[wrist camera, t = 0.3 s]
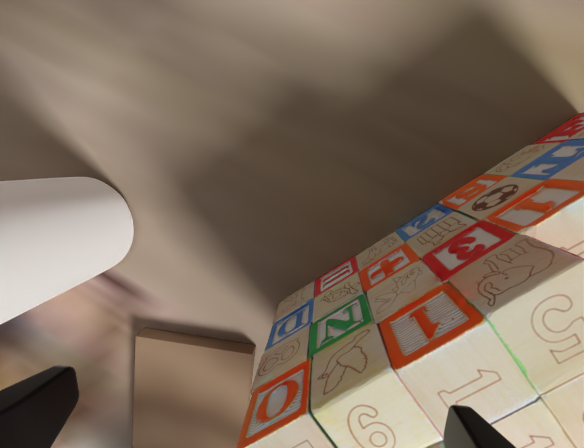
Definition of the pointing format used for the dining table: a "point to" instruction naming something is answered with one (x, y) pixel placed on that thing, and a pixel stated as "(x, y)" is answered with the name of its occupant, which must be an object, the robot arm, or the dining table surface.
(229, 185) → the dining table surface
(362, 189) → the dining table surface
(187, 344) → the tan flat board
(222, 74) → the dining table surface
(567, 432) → the stack of blocks
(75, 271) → the can
